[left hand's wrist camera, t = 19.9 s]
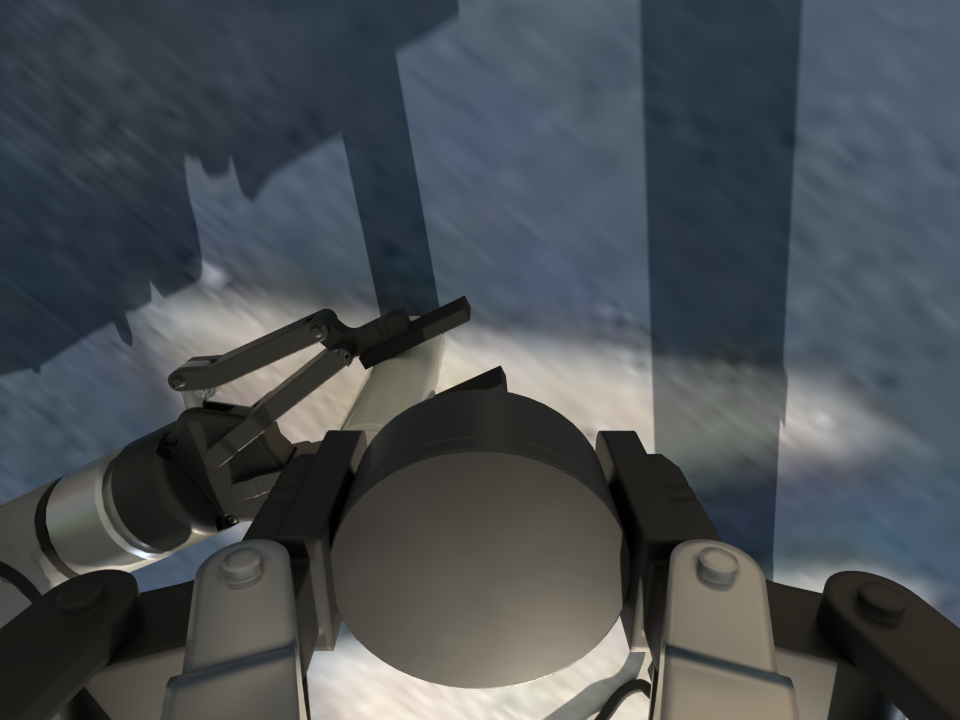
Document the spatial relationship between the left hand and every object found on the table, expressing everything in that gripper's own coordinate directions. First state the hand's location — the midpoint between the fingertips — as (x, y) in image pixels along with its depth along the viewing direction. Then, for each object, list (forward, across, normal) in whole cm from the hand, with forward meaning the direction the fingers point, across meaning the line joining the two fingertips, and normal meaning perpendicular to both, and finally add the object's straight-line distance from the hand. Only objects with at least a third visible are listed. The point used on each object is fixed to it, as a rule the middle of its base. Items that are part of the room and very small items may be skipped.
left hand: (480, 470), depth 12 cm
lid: (-3, 0, 0) cm, 3 cm away
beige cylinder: (+28, +4, +7) cm, 29 cm away
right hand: (+21, 0, +5) cm, 21 cm away
